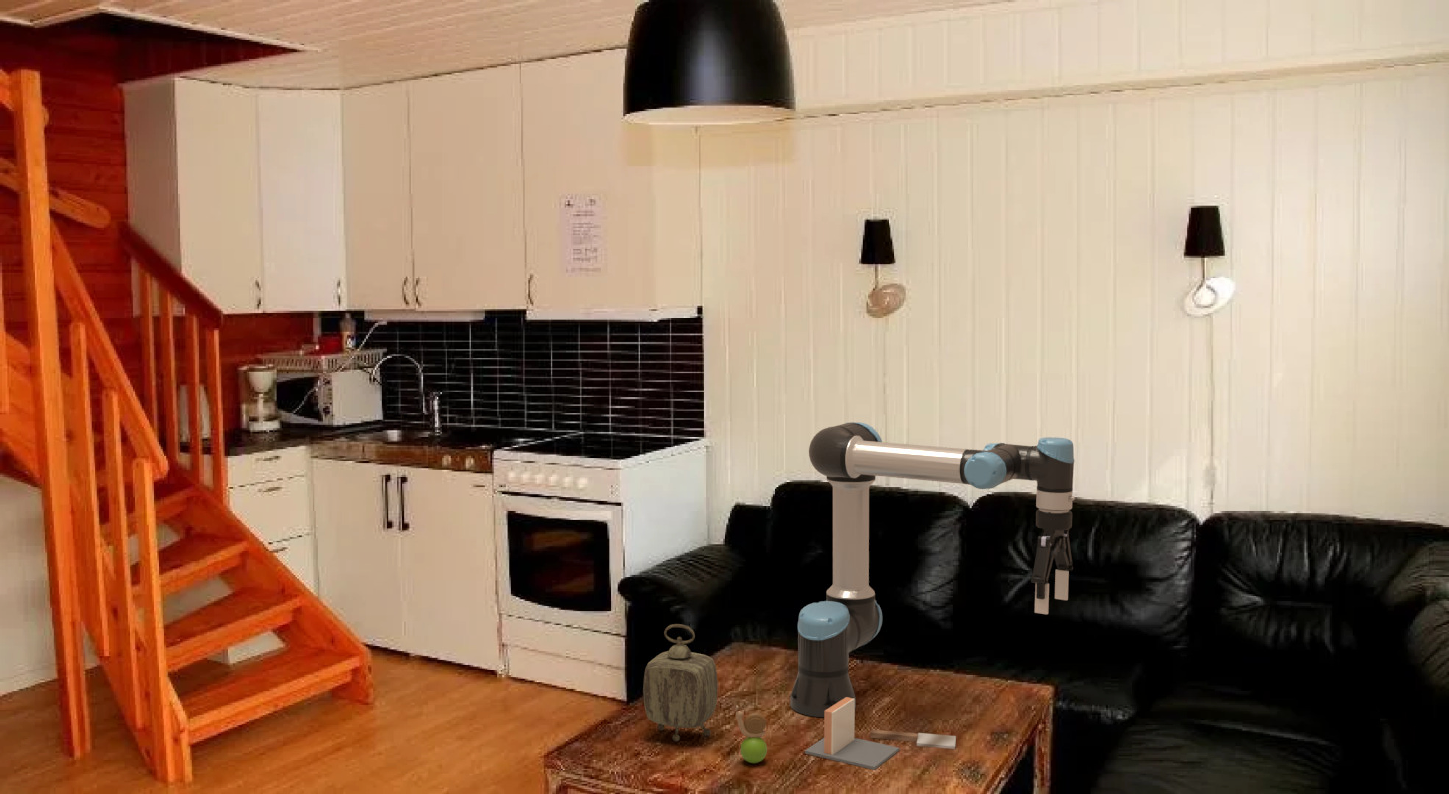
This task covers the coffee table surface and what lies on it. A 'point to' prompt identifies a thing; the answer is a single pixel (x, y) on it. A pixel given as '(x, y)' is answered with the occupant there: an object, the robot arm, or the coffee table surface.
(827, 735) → the tile
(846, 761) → the mat
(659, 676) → the tabletop clock
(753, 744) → the snail figurine
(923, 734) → the turner
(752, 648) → the coffee table surface
